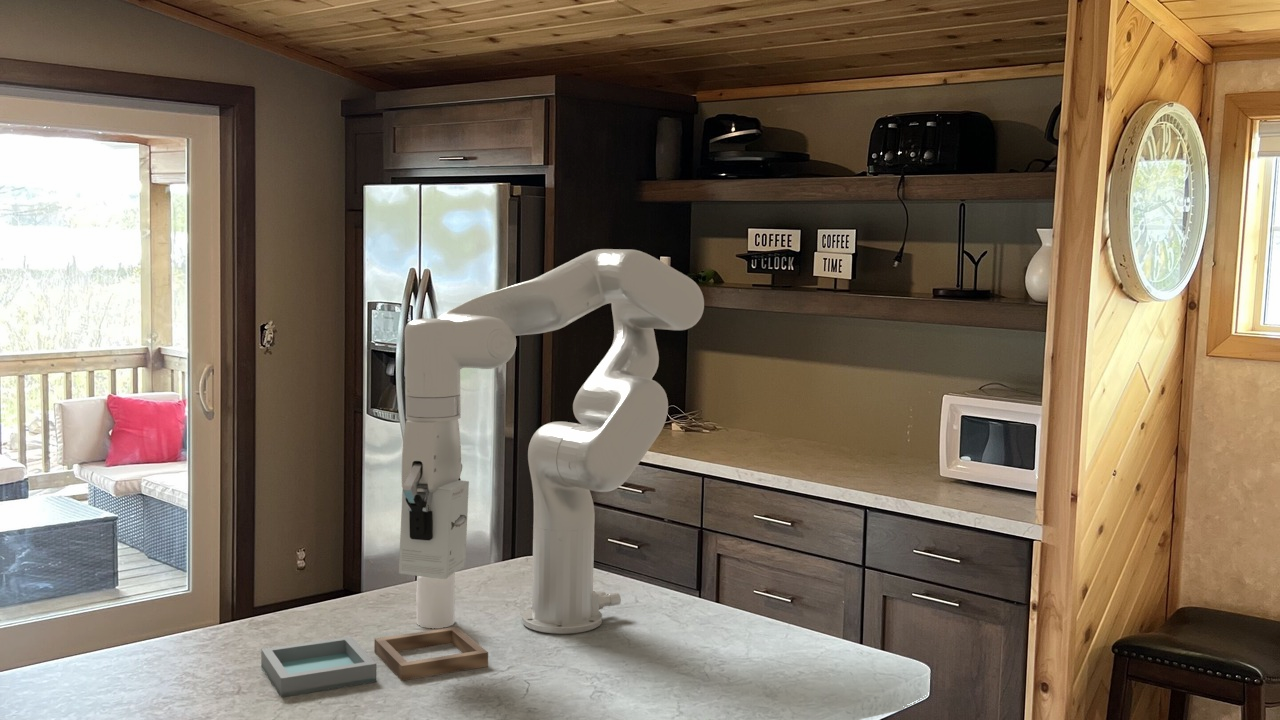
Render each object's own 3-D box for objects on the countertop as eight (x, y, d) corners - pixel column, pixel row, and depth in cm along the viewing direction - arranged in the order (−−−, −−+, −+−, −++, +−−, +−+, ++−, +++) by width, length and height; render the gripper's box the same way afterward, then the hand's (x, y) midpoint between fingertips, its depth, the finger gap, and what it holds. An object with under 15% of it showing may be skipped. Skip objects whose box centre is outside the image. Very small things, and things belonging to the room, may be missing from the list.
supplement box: (447, 580, 155) (451, 489, 154) (397, 574, 157) (400, 484, 156) (466, 567, 163) (470, 480, 162) (418, 561, 164) (421, 475, 163)
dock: (351, 653, 162) (351, 636, 162) (376, 681, 151) (376, 663, 151) (261, 666, 156) (261, 648, 156) (281, 697, 145) (281, 678, 145)
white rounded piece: (460, 544, 178) (448, 553, 172) (459, 619, 179) (447, 630, 173) (423, 542, 179) (410, 550, 173) (422, 616, 180) (410, 627, 174)
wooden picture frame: (456, 639, 169) (456, 626, 169) (487, 666, 158) (488, 652, 158) (374, 652, 163) (374, 638, 163) (401, 680, 152) (401, 666, 152)
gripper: (435, 398, 167) (437, 516, 169) (378, 415, 150) (380, 545, 152) (483, 400, 165) (484, 519, 167) (430, 418, 148) (431, 549, 150)
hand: (434, 531), depth 159 cm, fingers closed on supplement box, 7 cm apart
